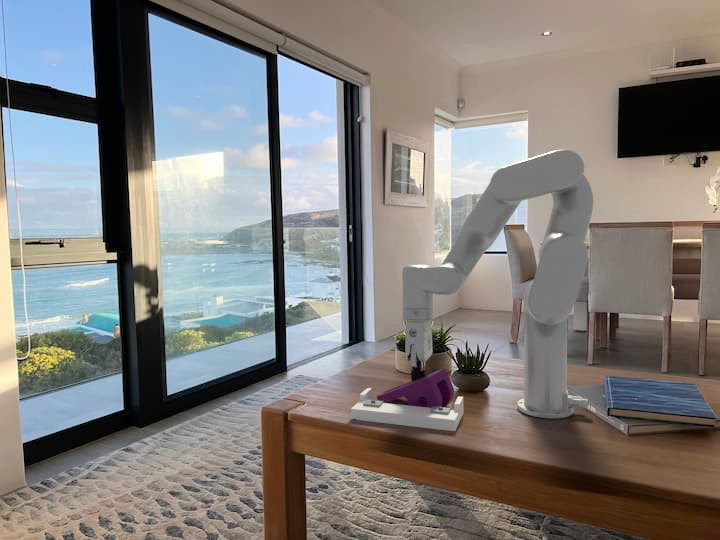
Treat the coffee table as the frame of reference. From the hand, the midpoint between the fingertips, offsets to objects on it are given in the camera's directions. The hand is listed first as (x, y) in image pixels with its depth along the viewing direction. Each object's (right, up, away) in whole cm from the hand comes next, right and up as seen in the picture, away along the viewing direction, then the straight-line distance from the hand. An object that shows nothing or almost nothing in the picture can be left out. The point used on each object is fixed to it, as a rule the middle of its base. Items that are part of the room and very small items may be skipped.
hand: (418, 385), depth 129 cm
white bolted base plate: (-4, -5, -10) cm, 12 cm away
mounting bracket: (-2, -5, -3) cm, 6 cm away
